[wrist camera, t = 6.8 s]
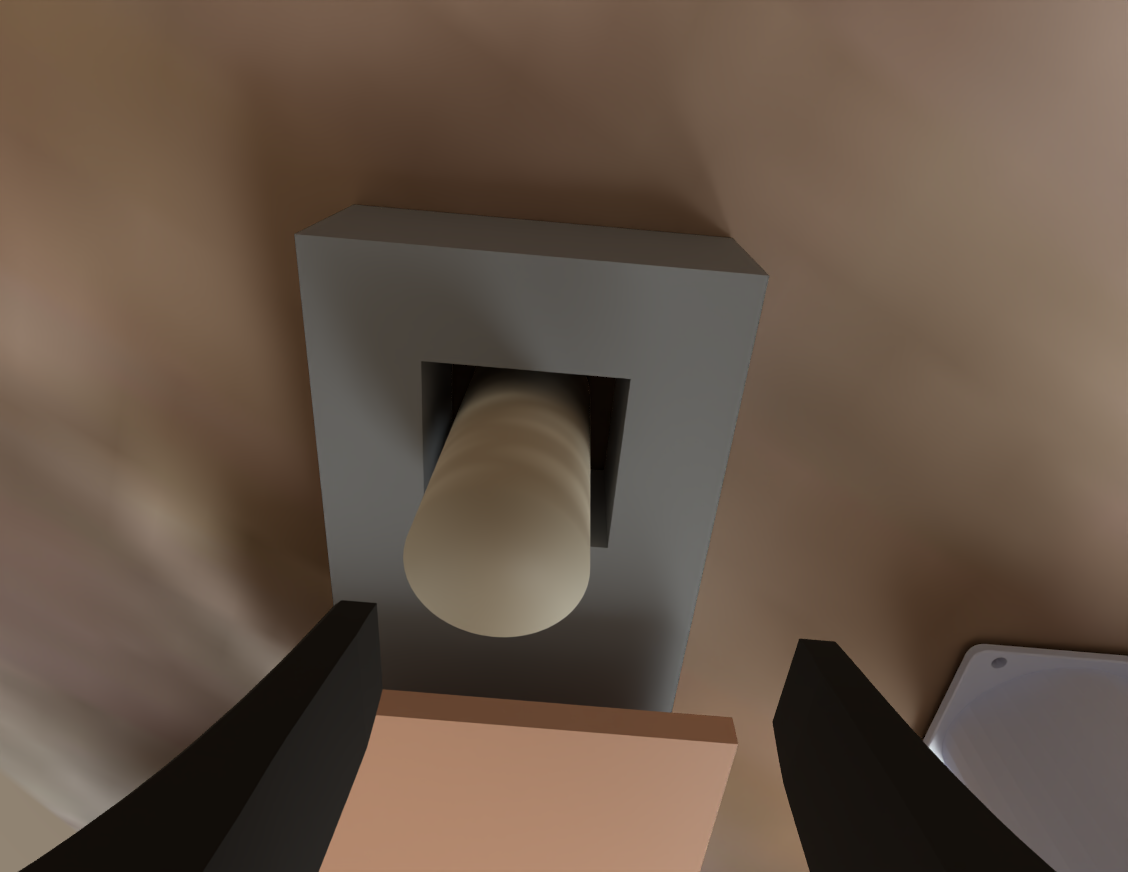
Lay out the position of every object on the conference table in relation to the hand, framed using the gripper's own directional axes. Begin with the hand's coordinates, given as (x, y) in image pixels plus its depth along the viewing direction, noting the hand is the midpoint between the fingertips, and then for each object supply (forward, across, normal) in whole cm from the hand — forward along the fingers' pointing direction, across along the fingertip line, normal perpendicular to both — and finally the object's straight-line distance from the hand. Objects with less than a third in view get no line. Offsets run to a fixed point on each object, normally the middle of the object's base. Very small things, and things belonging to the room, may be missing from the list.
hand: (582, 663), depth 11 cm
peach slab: (+10, +2, +9) cm, 14 cm away
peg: (+10, +2, 0) cm, 10 cm away
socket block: (+10, +2, +1) cm, 10 cm away
